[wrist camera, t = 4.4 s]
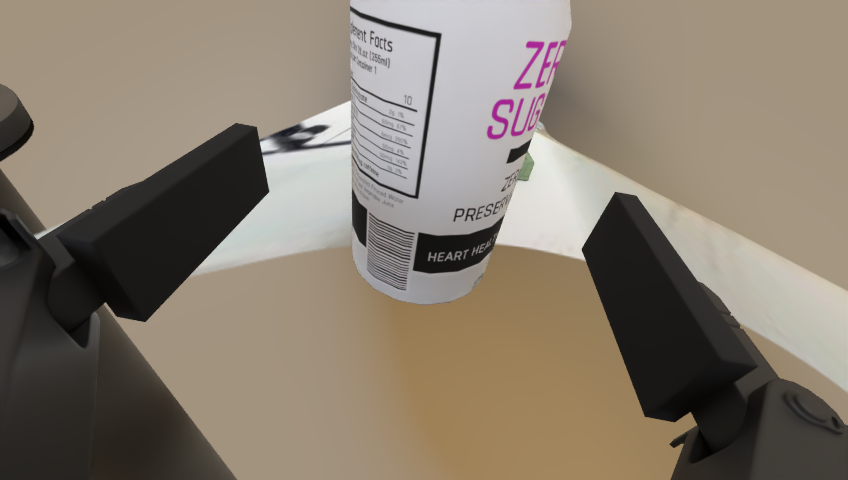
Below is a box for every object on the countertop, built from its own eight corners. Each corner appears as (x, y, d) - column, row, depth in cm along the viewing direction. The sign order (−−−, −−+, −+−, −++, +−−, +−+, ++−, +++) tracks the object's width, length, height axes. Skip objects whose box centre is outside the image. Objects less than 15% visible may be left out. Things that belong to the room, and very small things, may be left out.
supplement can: (370, 213, 24) (380, -61, 15) (481, 233, 24) (563, -29, 15) (334, 297, 18) (309, -85, 8) (483, 324, 18) (630, -31, 8)
